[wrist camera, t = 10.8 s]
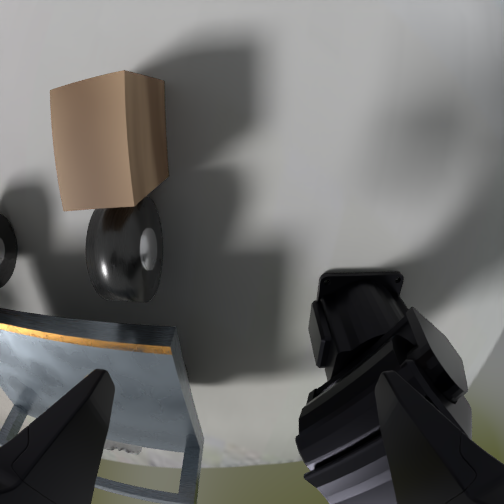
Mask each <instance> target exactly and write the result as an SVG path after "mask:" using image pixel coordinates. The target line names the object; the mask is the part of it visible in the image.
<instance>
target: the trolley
mask: <svg viewBox="0 0 504 504" xmlns="http://www.w3.org/2000/svg"><path fill="white" fill-rule="evenodd" d="M16 258H17V243H16V238H15V234H14V231H13V228H12V226H11V224H10V223H9V221H8V220H7V219H6V218H5V217H4V216H3V215H1V214H0V288H1V287H3V286H4V285H5V284H6V283H7V282H8V281H9V279H10V278H11V276H12V274H13V271H14V268H15V264H16ZM162 259H163V241H162V230H161V223H160V218H159V214H158V211H157V208H156V206H155V204H154V202H153V201H152V200H151V199H150V198H149V197H144V198H143V199H142V200H141V201H140V202H139V203H138V204H137V205H136V206H133V207H116V208H100V209H95V210H94V212H93V214H92V217H91V219H90V222H89V226H88V231H87V237H86V261H87V268H88V272H89V276H90V279H91V282H92V284H93V286H94V288H95V290H96V292H97V293H98V294H99V295H100V296H101V297H102V298H104V299H105V300H113V301H131V302H149V301H150V300H151V299H152V298H153V297H154V295H155V293H156V291H157V289H158V285H159V282H160V277H161V270H162ZM95 369H104V370H107V371H108V372H109V375H110V377H111V379H112V381H113V383H114V385H115V394H114V400H113V406H112V412H111V418H110V424H109V429H108V433H107V437H106V439H107V440H112V441H116V442H121V443H126V444H131V445H136V446H142V447H147V448H154V449H160V450H167V451H175V452H184V459H183V465H182V472H181V479H180V486H179V493H178V494H176V493H170V492H163V491H157V490H152V489H146V488H141V487H137V486H132V485H128V484H124V483H119V482H115V481H112V480H108V479H104V478H101V477H97V478H96V482H95V488H99V489H102V490H105V491H109V492H112V493H117V494H120V495H124V496H129V497H132V498H137V499H141V500H146V501H151V502H156V503H162V504H197V497H198V486H199V478H200V469H201V461H202V452H203V444H204V437H203V433H202V430H201V426H200V423H199V419H198V416H197V412H196V408H195V405H194V401H193V397H192V393H191V389H190V385H189V380H188V373H187V368H186V365H185V364H184V360H183V356H182V351H181V347H180V342H179V338H178V333H177V328H176V327H169V326H151V325H136V324H123V323H111V322H100V321H90V320H81V319H72V318H63V317H56V316H48V315H41V314H34V313H27V312H21V311H15V310H9V309H3V308H0V386H1V388H2V389H3V391H4V392H5V393H6V395H7V396H8V397H9V399H10V400H11V401H12V402H13V404H14V406H13V408H12V410H11V412H10V413H9V415H8V417H7V419H6V421H5V423H4V425H3V427H2V429H1V431H0V446H3V445H4V444H5V443H7V442H8V441H10V440H11V439H12V438H14V437H15V436H16V435H17V434H18V432H19V430H20V428H21V426H22V424H23V422H24V420H25V418H26V416H27V415H30V416H32V417H35V418H38V417H39V416H40V415H41V414H42V413H43V412H45V411H46V410H47V409H48V408H49V407H50V406H52V405H53V404H54V403H55V402H56V401H58V400H59V399H60V398H61V397H62V396H64V395H65V394H66V393H67V392H68V391H69V390H71V389H72V388H73V387H74V386H75V385H77V384H78V383H79V382H80V381H81V380H83V379H84V378H85V377H86V376H87V375H89V374H90V373H91V372H92V371H93V370H95Z"/></svg>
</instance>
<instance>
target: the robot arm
mask: <svg viewBox="0 0 504 504" xmlns="http://www.w3.org/2000/svg"><path fill="white" fill-rule="evenodd" d="M398 277H399V278H398ZM396 278H398V279H397V280H395V279H396ZM327 279H329V281H328V282H326V283H325V282H324V281H325V280H327ZM403 280H404V277H403V275H402V274H401V273H400V272H364V273H326V274H323V275H321V277H320V279H319V285H318V293H317V301H314V302H313V303H312V305H311V313H310V321H309V334H310V338H311V343H312V348H313V353H314V357H315V362H316V366H318V367H319V368H325V371H326V376H327V380H328V381H327V382H326V383H325V384H323V385H322V386H321V387H319V388H318V389H314V390H313V391H311V392H310V393H309V396H308V400H307V404H306V406H305V407H304V408H303V409H302V412H301V414H300V417H299V435H298V436H296V445H297V448H298V451H299V454H300V456H301V458H302V460H303V461H304V463H305V465H306V466H307V467H308V469H309V470H310V472H307V473H305V474H304V478H305V480H307V481H308V482H309V483H311V484H312V485H313V486H315V487H316V488H317V489H318V490H319V491H320V492H321V493H322V494H323V496H324V497H325V498H326V499H327V501H328V502H329V504H504V464H503V463H501V462H500V461H498V460H497V459H496V458H494V457H493V456H491V455H490V454H488V453H487V452H486V451H484V450H483V449H482V448H480V447H479V446H478V445H477V444H476V443H474V442H473V441H472V411H471V407H470V405H469V403H468V401H467V400H466V398H465V397H464V394H466V393H467V392H468V387H467V381H466V376H465V371H464V366H463V361H462V359H461V357H460V356H459V354H458V353H457V352H456V350H455V349H454V347H453V346H452V345H451V343H450V342H449V340H448V339H447V338H446V336H445V335H444V334H443V333H442V332H440V331H439V330H438V329H437V328H436V327H435V326H434V325H433V324H432V323H431V322H429V321H428V320H427V319H426V318H425V317H424V316H423V315H422V314H420V313H419V312H418V311H417V310H416V309H415V308H414V307H411V308H410V309H409V310H408V308H407V307H406V305H405V304H404V302H403V301H402V299H401V298H400V296H399V295H400V291H401V287H402V284H403ZM114 394H115V385H114V383H113V381H112V379H111V377H110V375H109V372H108V371H107V370H104V369H95V370H93V371H92V372H91V373H90V374H89V375H87V376H86V377H85V378H84V379H83V380H81V381H80V382H79V383H78V384H77V385H75V386H74V387H73V388H72V389H71V390H69V391H68V392H67V393H66V394H65V395H64V396H62V397H61V398H60V399H59V400H58V401H56V402H55V403H54V404H53V405H52V406H50V407H49V408H48V409H47V410H46V411H45V412H43V413H42V414H41V415H40V416H39V417H38V418H36V419H35V420H34V421H33V422H32V423H30V424H29V426H27V427H26V428H25V429H23V430H22V431H21V432H20V433H18V434H17V435H16V436H15V437H14V438H12V439H11V440H10V441H8V442H7V443H5V444H4V445H3V446H1V447H0V504H91V501H92V496H93V491H94V487H95V482H96V478H97V473H98V469H99V465H100V461H101V457H102V453H103V449H104V445H105V441H106V437H107V433H108V429H109V424H110V418H111V412H112V406H113V400H114Z"/></svg>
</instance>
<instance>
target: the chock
mask: <svg viewBox="0 0 504 504" xmlns="http://www.w3.org/2000/svg"><path fill="white" fill-rule="evenodd" d="M50 106H51V123H52V136H53V146H54V155H55V163H56V170H57V177H58V183H59V189H60V195H61V200H62V206H63V211H73V210H86V209H100V208H116V207H133V206H136V205H137V204H138V203H139V202H140V201H141V200H142V199H143V198H144V197H146V196H147V195H148V194H149V193H150V192H151V191H152V190H154V189H155V188H156V187H157V186H158V185H159V184H161V183H162V182H163V181H164V180H165V179H167V178H168V177H169V169H168V155H167V139H166V119H165V89H164V81H163V80H159V79H156V78H152V77H149V76H145V75H141V74H137V73H133V72H129V71H125V70H124V71H119V72H114V73H110V74H105V75H101V76H97V77H93V78H89V79H85V80H82V81H78V82H75V83H71V84H68V85H65V86H61V87H58V88H55V89H52V90H50Z"/></svg>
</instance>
